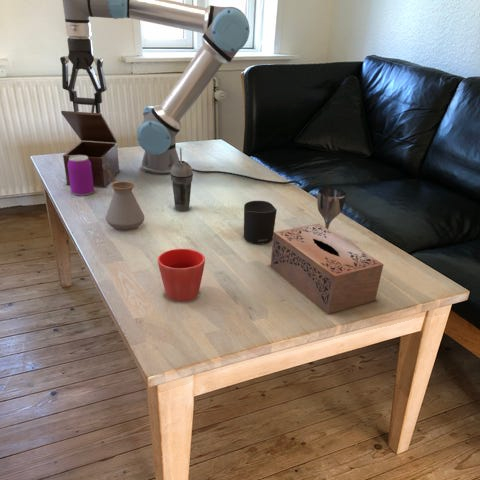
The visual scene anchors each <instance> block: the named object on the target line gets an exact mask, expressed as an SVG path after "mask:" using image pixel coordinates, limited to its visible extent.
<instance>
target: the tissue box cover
mask: <svg viewBox="0 0 480 480" xmlns="http://www.w3.org/2000/svg"><path fill="white" fill-rule="evenodd" d="M270 268H271V269H273V270H274V271H275V272H277V273H278V274H279V275H280V276H282V277H283V278H284V279H285V280H286V281H288V282H289V283H290V284H291V285H292V286H293V287H295V288H296V289H297V290H298V291H300V292H301V293H302V294H304V295H305V296H306V297H307V298H308V299H309V300H311V301H312V302H313V303H314V304H315V305H317V306H318V307H319V308H320V309H322V311H324V312H325V313H327V314H329V315H330V314H333V313H336V312H339V311H344V310H347V309H350V308H353V307H357V306H360V305H363V304H364V305H365V304H367V303H372V302H374V301H376V299H377V295H378V290H379V285H380V281H381V278H382V272H383V269H384V263H383V262H381V261H379V260H377V259H376V258H374V257H373V256H371V255H370V254H368V253H366V252H365V251H363V250H362V249H360V248H358V247H357V246H356V245H354V244H352V243H350V242H349V241H348V240H346V239H344V238H342V237H341V236H340V235H338V234H336V233H335V232H333V231H331V230H330V229H329V228H328V229H327V228H325V225H324V226H323V225H322V224H320V223H314V224H309V225H308V224H307V225H304V226H298V227H292V228H288V229H282V230H277V231H274V233H273V239H272V246H271V257H270Z"/></svg>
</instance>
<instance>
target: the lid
mask: <svg viewBox="0 0 480 480" xmlns="http://www.w3.org/2000/svg"><path fill="white" fill-rule="evenodd" d="M74 103H75V106H74V108H73V111H72V110H71V111H70V110H61V111H60V113H61V115H62V116H63V117H64V119H65V120H66V121H67V123H68V125H69V126H70V128H71V129H72V130H73V132H75V134H76V135H77V137H78V138H79V140H80V142H81V141H91V142H105V143H117V144H118V140H117V138H116V137H115V135H114V133H113V132H112V130H111V128H110V126H109V125H108V122H107V121H106V119H105V117H104V116H103V114H102V113H96V112H95V109H96V107H95V97H80V96H79V97H78V96H77V97H75V98H74ZM77 104H78V105H84V106H91V109H90V110H91V111H90V112H88V111H78V112H77Z"/></svg>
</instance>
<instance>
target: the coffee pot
mask: <svg viewBox="0 0 480 480" xmlns="http://www.w3.org/2000/svg"><path fill="white" fill-rule="evenodd" d="M104 165H105V167H106V168H103V165H102V168H103V169H106V170H107V171H108V175H109V176H110V178H111V181H112V184H111V185H110V186H111V189H112V190H113V194H112V198H111V200H110V204H109V206H108V209H107V213H106V215H105V221H106V223H107V224H108V225H109V226H110V227H111V228H113V229H114V230H115V231H118V232H133V231H136V230H137V229H138V228H139V227H140V226H142V224H143V223H144V221H145V215H144V212H143V210H142V208H141V206H140V204H139V202H138V201H137V199H136V197H135V195H134V192H133V189H134V187H135V183H133V182H130V181H117V180H116V178H115V176H113V173H112V172H111V171H110V168H109V167H108V165H109V164H106V163H105V164H104Z"/></svg>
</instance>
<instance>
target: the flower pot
mask: <svg viewBox="0 0 480 480" xmlns="http://www.w3.org/2000/svg"><path fill="white" fill-rule="evenodd" d="M205 262H206V256H205V255H204V254H203V253H201V252H200V251H198V250H195V249H191V248H174V249H170V250H169V249H168V250H166V251H164V252H162V253H160V254H159V256H158V257H157V265H158V268H159V272H160V276H161V280H162V284H163V289H164V292H165V295H166V297H167V298H168V299H169V300H171V301H173V302H179V303H185V302H190V301H193V300H195V299H196V298H198V295H199V292H200V288H201V284H202V279H203V274H204V269H205V264H206V263H205Z"/></svg>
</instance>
